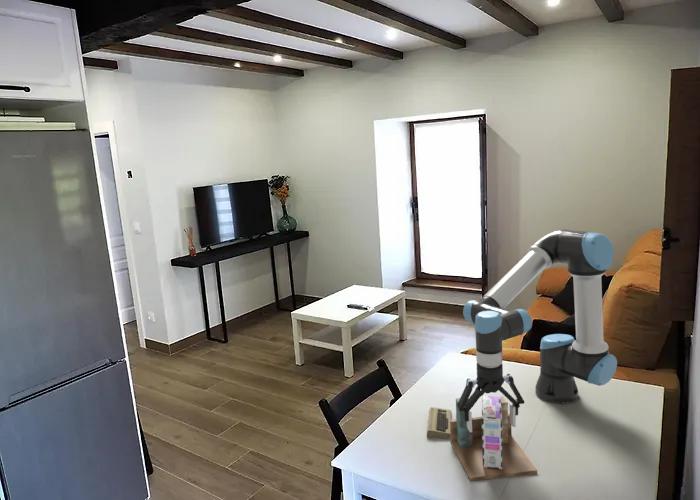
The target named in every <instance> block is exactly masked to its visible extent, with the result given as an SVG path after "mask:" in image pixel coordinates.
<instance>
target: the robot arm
mask: <svg viewBox="0 0 700 500" xmlns="http://www.w3.org/2000/svg"><path fill="white" fill-rule="evenodd" d="M614 258H615V250H614V245H613V243H612V241H611V239H610V238H609V237H607V235H605V234H603V233H597V232H594V231H581V230H570V229H558V230H554V231H551V232H549V233H547V234H545V235H543V236H542V237H541V238H539V239H537V240H536V241H535V242H533V243H532V245H530V246H529V247H528V248H527V250H526V254H525V255H524V256H523V257H522V258H521V259H520V260H519V261H518V262H517V263H516V264H515V265H514V266H512V268H511V269H510V270H509V271H507V273H506V274H505V275H504V276H503V277H502V278H501V279H500V280H498V281H497V283H496V284H494V285H493V286H492V287H491V288H490V289H489V290H488V291H487V292H486V293H485V294H484V295H483V296H481V298H480V299H479V300H477V299H476V300H473V299H472V300H469V301H467V302H466V303H465V305H464V306H463V311H462V313H463V314H462V315H463V318H464V319H465V321H467V322H469V323H471V324H473V325H474V332H475V335H474V336H475V349H476V350H475V352H476V355H475V356H476V379H471V378H467V379H466V380H465V381H466V382H465V383H466V384H465V386H464V389H463V391H462V394H461V395H460V397H459V398H460V400H459V402H458V404H457V407H458V409H459V411H463V414H464V419H465V421H466V422H467V428H468V430H469V432H472V418H473V415H472V411H471V409H472V408H473V407H474V406H475V405H476V403H477V401H478V400H479V399H480V398H482V396H484V395H485V394H491V393H493V394H495V393H497V392H498V391H499V392H500V393H501V394H502V395H503V397H504V398H505V399H507V400H509V402H510V403H509V402H508V407H509V414H510V423H511V427H513V428H516V426H517V425H516V422H517V421H516V416H519V408H521V404H522V405H523V404H525V400H524V398H523V396H522V395H521V393H520V391H519V389H518V388H517V386H516V385H515V379H514V377H513V376H512V375H511V374H510V373H507V374H506V375H505V376H503V373H504V371H503V368H504V367H503V342H504V341H507V340H508V339H512V338H515V337H518V336H521V335H523V334H526V333H527V332H529V331H530V330H531V328H532V326H533V323H532V322H533V320H532V317H531V315H530V314H529V312H528V311H526V310H525V309H523V308H518V309H513V310H509V309H506V307H507V306H508V305H510V303H511V302H512V301H513V300H514V299H515V298H516V297H518V295H519V294H520V293H522V291H523V290H525V288H526V287H527V286H528V285H530V283H531V282H533V281H534V279H536V277H538V276H539V275H540V273H542V271H544V270H546V269H550V267H552V266H553V265H554V264H559V263H561V264H565V265H567V273H568V274H569V275H570V276H571V277H573V278H572V279H573V280H572V281H573V282H572V283H573V298H574V299H573V301H574V321H575V323H574V324H575V337H574V336H573V335H570V334H565V333H553V334H547V335H545V336H543V337H542V338H541V340H540V347H539V349H540V350H539V352H540V353H539V356H540V358H539V359H540V360H539V361H540V363H539V367H540V372H539V376H538V378H537V381H536V384H535V395H536V396H537V397H538V398H540V399H542V400H543V401H546V402H549V403H554V404H570V403H573V402H575V401H577V400H578V398H579V389H578V386H577V383H576V381H575V378H577V379H579V380H581V381H585V382H587V383H588V384H592V385H594V386H595V385H596V386H598V387H599V386H601V387H602V386H604V385H606V384H608V383H609V382H610V381H611V380H612V378H613V376H614V375H615V373H616V371H617V366H618V360H617V357H616V356H614V355H613V354H611V353H610V350H609V344H608V343H607V342H606V341H604V319H603V318H604V317H603V316H604V315H603V290H602V288H603V285H602V276H604V275H605V274H606V272H607V269H609V268H611V266H612V264H613V260H614ZM575 338H576V339H575ZM505 382H506V384H508V385H509V387H510V388H511V391H512V392H513V394H514V396H515V398H514V397H513V396H512V395H511V394H510V393H509V392H508V391H507V390H506V389H505V388H504V387H503V384H504V383H505ZM475 385H477V386H476V387H475ZM474 388H475V390H474V391H473V389H474ZM472 391H473V392H472Z"/></svg>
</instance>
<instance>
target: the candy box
mask: <svg viewBox="0 0 700 500" xmlns="http://www.w3.org/2000/svg"><path fill="white" fill-rule="evenodd" d="M501 397H502V396H487V395H483V396H481V400H482V403H481V417H482V453H483V467H485V468H494V469H503V460H502V409H501Z"/></svg>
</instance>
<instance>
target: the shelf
mask: <svg viewBox="0 0 700 500" xmlns="http://www.w3.org/2000/svg"><path fill="white" fill-rule="evenodd" d="M500 397H501V409H502V460H503V469H494V468H485V467H483V453H482V416H475V417H474V416H473V417H472V432H469V430H468V428H467V422H466V421H465V419H464V414H463V411H459V409H458V407H457V404H458V402H459V400H460V398H461V397H457V398H455V418H456V419H455V418H454V419H452V420H450V433H451V438H450V443H451V445H452V447H453V450H454V452H455V454H456V456H457V458H458V460H459V461H460V464H461V466H462V467H463V470H464V472H465V474H466V476H467V477H468V479H469V481H471V482H472V481H473V482H474V481H481V480H488V479H489V480H491V479H498V478H499V479H500V478H508V477H516V476H523V475H524V476H525V475H526V476H527V475H534V474H538V469H537V468H536V466H535V465H534V464H533V462H532V461H531V460H530V459H529V456H527V454H526V453H525V451H524V449H522V447H521V446H520V444H519V443H518V442H517V441H516V439H515V438H514V436H512V425H511V423H510V413H509V402H508V401H507V399H506V397H505V396H500Z"/></svg>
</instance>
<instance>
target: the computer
mask: <svg viewBox="0 0 700 500" xmlns="http://www.w3.org/2000/svg"><path fill="white" fill-rule="evenodd" d="M452 416H453V415H452V411H451V410H450V409H447V408H440V407H432V406H431V407H430V408H429V411H428V419H427V429H426V438H434V439H435V437H436V439H437V438H438V439H451V433H450V420H453V419H452V418H453V417H452Z"/></svg>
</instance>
